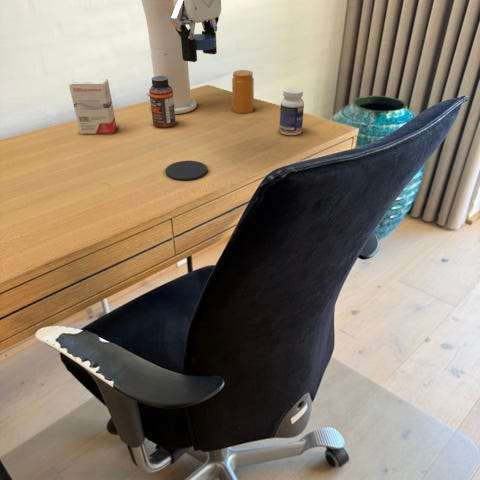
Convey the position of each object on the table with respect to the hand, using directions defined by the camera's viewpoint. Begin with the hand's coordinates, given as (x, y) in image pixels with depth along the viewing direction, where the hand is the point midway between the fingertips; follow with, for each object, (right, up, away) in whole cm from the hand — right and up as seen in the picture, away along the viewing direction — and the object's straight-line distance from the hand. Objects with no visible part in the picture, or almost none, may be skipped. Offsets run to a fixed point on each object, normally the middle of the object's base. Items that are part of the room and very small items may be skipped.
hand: (200, 56), depth 98 cm
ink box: (-28, -6, +24) cm, 38 cm away
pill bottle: (+21, -7, +22) cm, 31 cm away
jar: (+9, +4, +35) cm, 36 cm away
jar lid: (0, +2, -2) cm, 3 cm away
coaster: (-3, -22, +6) cm, 23 cm away
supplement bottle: (-12, -3, +27) cm, 30 cm away
